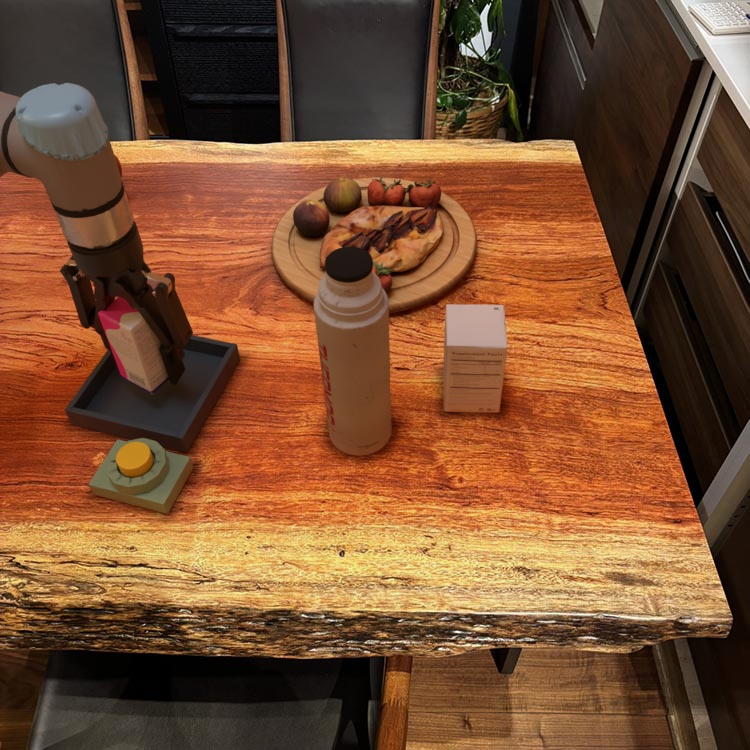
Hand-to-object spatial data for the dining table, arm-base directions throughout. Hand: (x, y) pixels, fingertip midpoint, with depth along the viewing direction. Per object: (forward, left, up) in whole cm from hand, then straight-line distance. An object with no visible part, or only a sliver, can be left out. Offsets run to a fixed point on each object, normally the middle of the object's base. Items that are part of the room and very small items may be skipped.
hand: (151, 370), depth 104 cm
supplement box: (0, 0, -1) cm, 1 cm away
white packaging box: (+40, +11, -4) cm, 42 cm away
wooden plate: (+19, +36, -4) cm, 41 cm away
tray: (0, 0, -4) cm, 4 cm away
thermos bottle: (+28, +1, -4) cm, 28 cm away
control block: (+5, -13, -4) cm, 15 cm away
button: (+5, -13, -1) cm, 14 cm away
